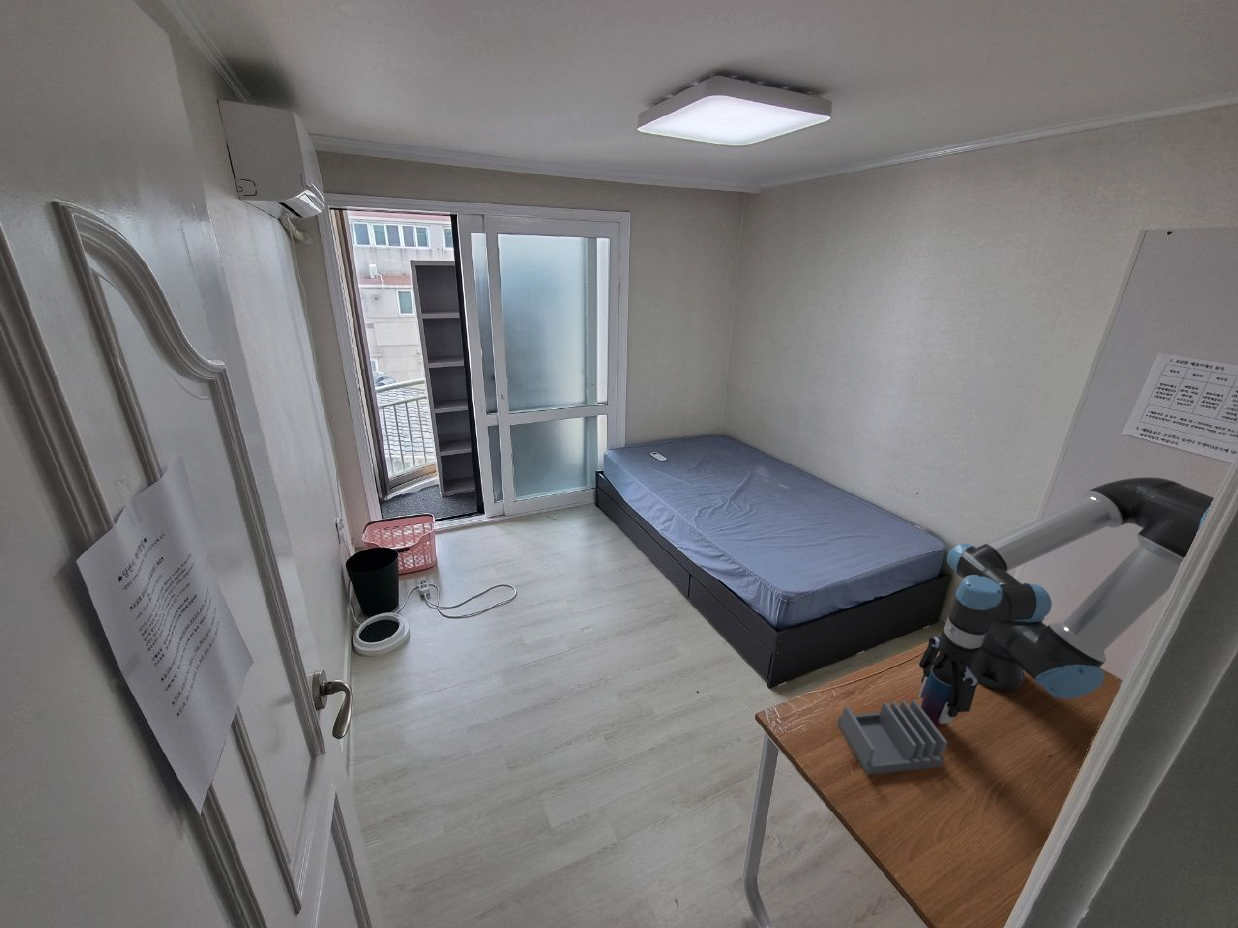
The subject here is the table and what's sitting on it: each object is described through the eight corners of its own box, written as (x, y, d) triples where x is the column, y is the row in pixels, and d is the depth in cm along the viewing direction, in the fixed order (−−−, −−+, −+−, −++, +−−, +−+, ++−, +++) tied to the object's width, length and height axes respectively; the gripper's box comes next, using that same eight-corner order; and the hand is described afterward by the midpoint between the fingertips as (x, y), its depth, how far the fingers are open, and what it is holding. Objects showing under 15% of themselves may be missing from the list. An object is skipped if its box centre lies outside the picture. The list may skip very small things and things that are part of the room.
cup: (950, 733, 121) (969, 688, 115) (920, 727, 122) (936, 683, 116) (939, 709, 127) (957, 666, 121) (911, 704, 128) (926, 661, 122)
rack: (905, 716, 125) (912, 696, 122) (941, 766, 113) (950, 745, 110) (837, 723, 123) (843, 702, 120) (866, 774, 111) (873, 753, 108)
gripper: (918, 609, 122) (895, 677, 132) (979, 673, 104) (948, 747, 114) (946, 607, 123) (921, 675, 132) (1012, 670, 105) (978, 743, 114)
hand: (934, 708), depth 123 cm, fingers open, 7 cm apart
